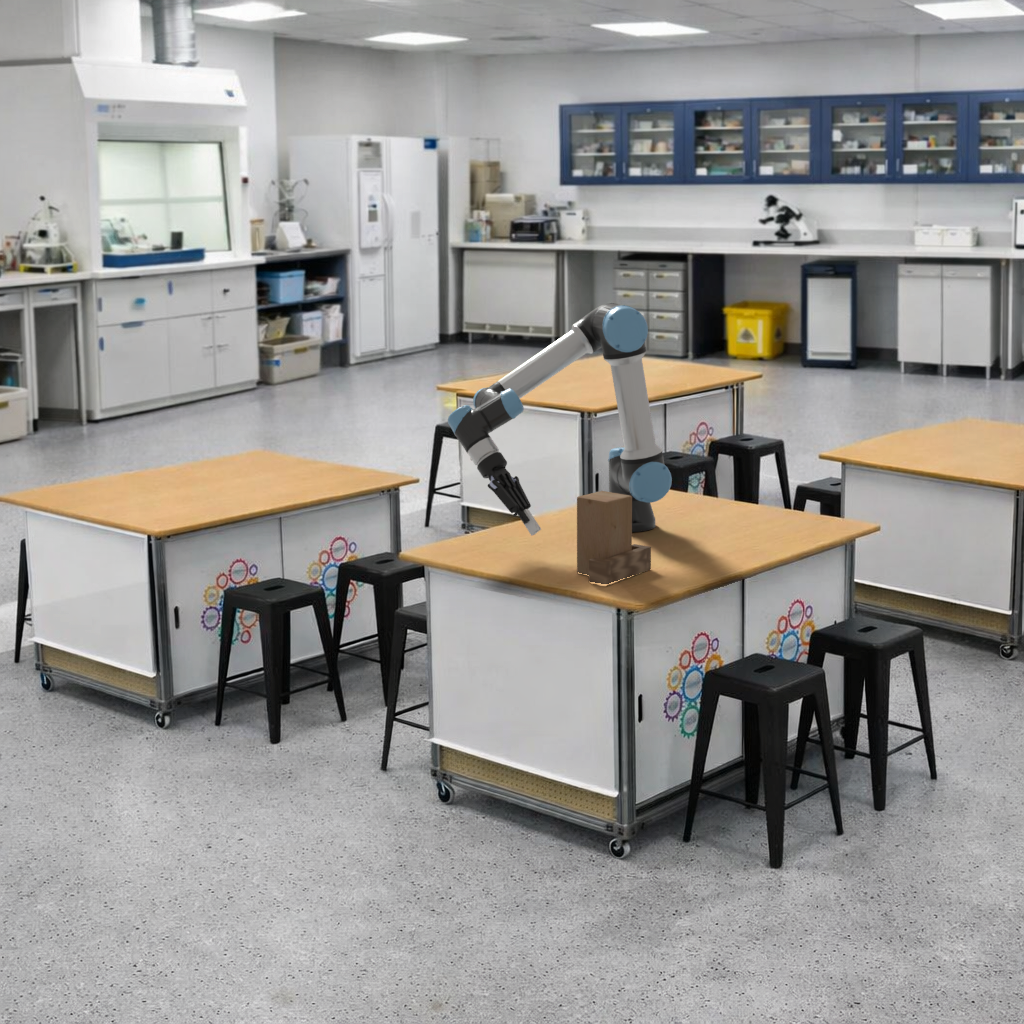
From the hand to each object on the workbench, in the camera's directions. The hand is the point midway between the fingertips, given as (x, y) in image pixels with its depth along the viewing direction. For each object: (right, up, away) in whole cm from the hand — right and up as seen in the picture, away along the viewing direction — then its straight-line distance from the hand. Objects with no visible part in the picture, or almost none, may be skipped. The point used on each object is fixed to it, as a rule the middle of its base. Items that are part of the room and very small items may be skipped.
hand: (536, 532), depth 375 cm
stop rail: (+21, -11, -15) cm, 28 cm away
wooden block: (+17, -10, -12) cm, 23 cm away
